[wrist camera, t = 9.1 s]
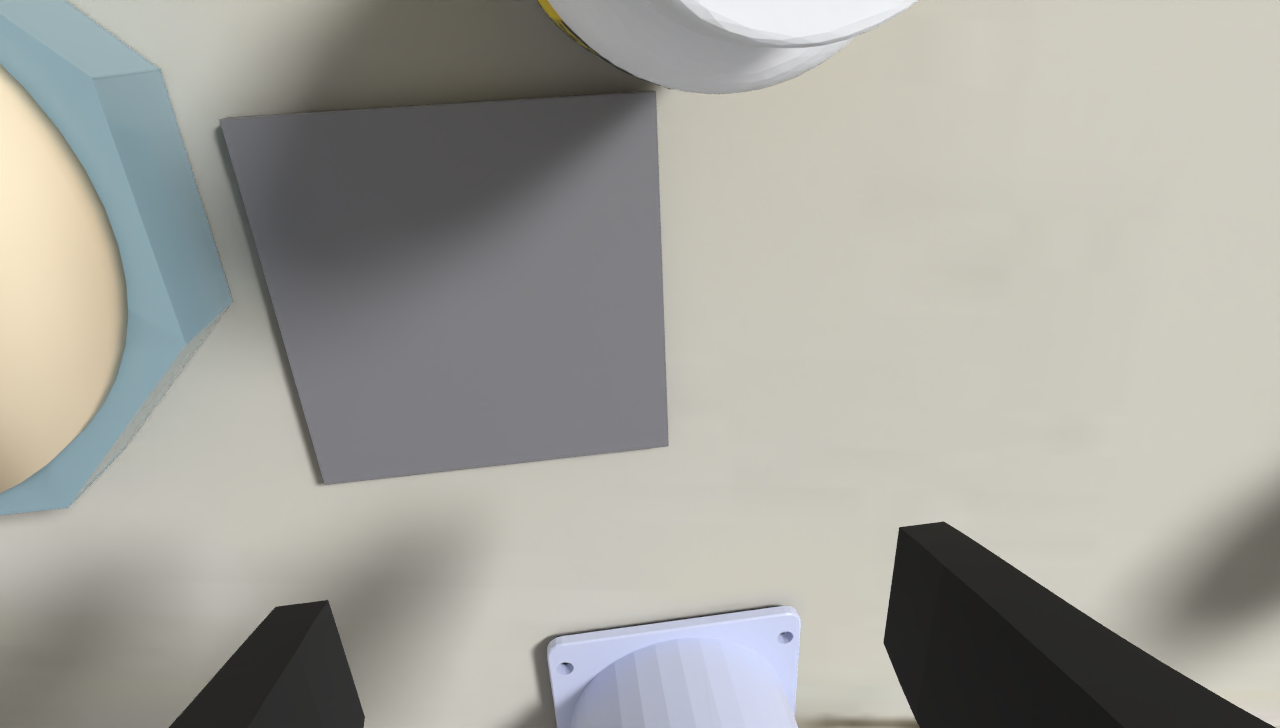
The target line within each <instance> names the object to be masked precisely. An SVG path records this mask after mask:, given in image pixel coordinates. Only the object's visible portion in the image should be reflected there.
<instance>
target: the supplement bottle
mask: <svg viewBox="0 0 1280 728" xmlns="http://www.w3.org/2000/svg"><path fill="white" fill-rule="evenodd" d="M537 1H538V3H539V4H540V6H541V7H542V8H543V10H544V11H545V12H546V13H547V15H548V16H549V17H550V19H551V20H552V21H553V22H554V23H555V24H556V25H557V26H558V27H559V28H560V29H561V30H562V31H564V32H565V33H566V34H567V35H568V36H569V37H570V38H572V39H573V40H574V41H576V42H577V43H579V44H580V45H581V46H583V47H584V48H586V49H587V50H588V51H590V52H593V53H594V54H596V55H598V56H600V57H601V58H602V59H604V60H605V61H607V62H609V63H610V64H612V65H613V66H615V67H616V68H618V69H620V70H622V71H624V72H626V73H628V74H630V75H633V76H636V77H638V78H640V79H642V80H646V81H649V82H652V83H654V84H656V85H659V86H663V87H665V88H668V89H677V90H681V91H685V92H695V93H704V94H729V93H740V92H746V91H752V90H757V89H762V88H766V87H769V86H773V85H776V84H779V83H782V82H784V81H787V80H790V79H792V78H795V77H797V76H799V75H801V74H803V73H805V72H807V71H809V70H811V69H812V68H814V67H816V66H818V65H819V64H821V63H823V62H824V61H826V60H827V59H829V58H830V57H832V56H833V55H834V54H836V53H837V52H838V51H840V50H841V49H842V48H844V47H845V46H846V45H848V44H849V43H850V42H851V41H852V40H853V39H854V38H855V37H857V36H858V35H860V34H862V33H865V32H867V31H870V30H872V29H874V28H876V27H878V26H880V25H882V24H884V23H886V22H887V21H889V20H891V19H893V18H894V17H896V16H898V15H899V14H901V13H903V12H904V11H905V10H907V9H908V8H909V7H911V6H912V5H913V4H915V3H916V2H917V1H919V0H537Z"/></svg>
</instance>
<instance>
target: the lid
mask: <svg viewBox="0 0 1280 728" xmlns="http://www.w3.org/2000/svg"><path fill="white" fill-rule="evenodd" d="M127 325H128V300H127V286H126V278H125V273H124V269H123V264H122V260H121V255H120V250H119V246H118V243H117V240H116V237H115V235H114V232H113V229H112V226H111V224H110V221H109V218H108V215H107V213H106V210H105V207H104V205H103V203H102V201H101V199H100V197H99V196H98V194H97V192H96V190H95V188H94V186H93V184H92V182H91V180H90V178H89V176H88V174H87V172H86V170H85V168H84V167H83V165H82V164H81V162H80V161H79V159H78V158H77V156H76V155H75V153H74V152H73V150H72V149H71V147H70V146H69V144H68V143H67V141H66V140H65V138H64V137H63V135H62V134H61V132H60V130H59V129H58V128H57V127H56V125H55V124H54V123H53V122H52V121H51V119H50V118H49V117H48V116H47V114H46V113H45V112H44V111H43V110H42V108H41V107H40V106H39V105H38V103H37V102H36V101H35V100H34V99H33V97H32V96H31V95H30V94H29V93H28V91H27V90H26V89H25V88H24V87H23V86H22V85H21V84H20V83H19V82H18V81H17V80H16V79H15V78H14V77H13V76H12V75H11V74H10V73H9V72H8V71H7V70H6V69H5V68H4V67H3V66H2V65H1V64H0V493H2V492H4V491H6V490H8V489H10V488H12V487H14V486H16V485H18V484H20V483H22V482H23V481H24V480H26V479H27V478H29V477H30V476H32V475H33V474H34V473H36V472H37V471H39V470H40V469H41V468H43V467H44V466H46V465H47V464H48V463H49V462H50V461H51V460H53V459H54V458H55V457H56V456H57V455H58V454H59V453H60V452H61V451H62V450H64V449H65V448H66V447H67V446H68V445H69V444H70V443H71V442H72V441H73V440H74V439H75V438H76V437H77V436H78V435H79V434H80V433H81V432H82V431H83V430H84V429H85V428H86V427H87V426H88V425H89V424H90V422H91V421H92V420H93V418H94V417H95V415H96V414H97V413H98V411H99V410H100V408H101V407H102V406H103V404H104V403H105V401H106V399H107V397H108V395H109V393H110V391H111V389H112V386H113V384H114V382H115V380H116V378H117V376H118V372H119V369H120V365H121V361H122V358H123V354H124V350H125V347H126V336H127Z"/></svg>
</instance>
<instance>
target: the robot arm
mask: <svg viewBox="0 0 1280 728" xmlns="http://www.w3.org/2000/svg"><path fill="white" fill-rule="evenodd" d="M800 628H801V621H800V617H799V615H798V613H797V611H796V610H795V609H794V608H793V607H790V606H779V607H772V608H765V609H757V610H750V611H743V612H735V613H728V614H721V615H713V616H706V617H699V618H691V619H684V620H677V621H669V622H662V623H655V624H647V625H640V626H633V627H625V628H618V629H611V630H603V631H596V632H589V633H581V634H574V635H567V636H561V637H557V638H555V639H553V640H552V641H550V643H549V644H548V646H547V661H548V668H549V674H550V681H551V688H552V695H553V702H554V709H555V716H556V723H557V728H798V725H797V723H796V720H795V702H796V687H797V673H798V658H799V643H800ZM785 631H787V632H786V633H784V634H781V633H783V632H785ZM884 645H885V648H886V650H887V653H888V655H889V657H890V660H891V662H892V665H893V667H894V670H895V672H896V675H897V677H898V680H899V682H900V685H901V687H902V689H903V692H904V694H905V696H906V698H907V701H908V703H909V705H910V708H911V710H912V712H913V714H914V717H915V719H916V721H917V723H918V725H919V726H920V728H1275V727H1273V726H1272V725H1270V724H1268V723H1266V722H1264V721H1263V720H1261V719H1259V718H1257V717H1255V716H1254V715H1252V714H1250V713H1248V712H1246V711H1245V710H1243V709H1241V708H1239V707H1237V706H1236V705H1234V704H1232V703H1230V702H1229V701H1227V700H1225V699H1223V698H1222V697H1220V696H1218V695H1217V694H1215V693H1213V692H1212V691H1210V690H1208V689H1207V688H1205V687H1203V686H1201V685H1200V684H1198V683H1196V682H1195V681H1193V680H1191V679H1190V678H1188V677H1186V676H1184V675H1183V674H1181V673H1179V672H1178V671H1176V670H1174V669H1173V668H1171V667H1169V666H1167V665H1166V664H1164V663H1162V662H1161V661H1159V660H1157V659H1156V658H1154V657H1153V656H1151V655H1149V654H1148V653H1146V652H1144V651H1143V650H1141V649H1140V648H1138V647H1136V646H1135V645H1133V644H1132V643H1130V642H1128V641H1127V640H1125V639H1123V638H1122V637H1120V636H1119V635H1117V634H1116V633H1114V632H1112V631H1111V630H1109V629H1108V628H1106V627H1105V626H1103V625H1101V624H1100V623H1098V622H1097V621H1095V620H1094V619H1092V618H1091V617H1089V616H1087V615H1086V614H1084V613H1083V612H1081V611H1080V610H1078V609H1077V608H1075V607H1074V606H1072V605H1070V604H1069V603H1067V602H1066V601H1064V600H1063V599H1061V598H1060V597H1058V596H1057V595H1055V594H1054V593H1052V592H1051V591H1049V590H1048V589H1046V588H1045V587H1043V586H1042V585H1040V584H1039V583H1037V582H1036V581H1034V580H1033V579H1031V578H1030V577H1028V576H1027V575H1025V574H1024V573H1022V572H1021V571H1019V570H1018V569H1016V568H1015V567H1013V566H1012V565H1010V564H1009V563H1007V562H1006V561H1004V560H1003V559H1001V558H1000V557H998V556H997V555H995V554H994V553H992V552H991V551H989V550H988V549H986V548H985V547H983V546H982V545H980V544H979V543H977V542H975V541H974V540H972V539H971V538H969V537H968V536H966V535H965V534H963V533H962V532H960V531H958V530H957V529H955V528H953V527H952V526H950V525H949V524H947V523H945V522H938V523H930V524H922V525H914V526H906V527H899V534H898V541H897V548H896V555H895V563H894V570H893V577H892V585H891V592H890V599H889V607H888V614H887V621H886V628H885V636H884ZM564 662H566V663H569V664H566V665H564V664H561V663H564ZM364 719H365V716H364V713H363V710H362V707H361V704H360V700H359V697H358V694H357V691H356V688H355V684H354V681H353V678H352V675H351V672H350V668H349V665H348V662H347V659H346V656H345V652H344V649H343V646H342V643H341V640H340V636H339V633H338V630H337V627H336V624H335V620H334V617H333V614H332V611H331V608H330V604H329V601H328V600H326V601H318V602H310V603H302V604H294V605H287V606H279V607H275V608H274V610H273V611H272V612H271V613H270V614H269V615H268V616H267V617H266V618H265V619H264V621H263V622H262V623H261V624H260V625H259V626H258V627H257V628H256V630H255V631H254V632H253V633H252V634H251V635H250V636H249V637H248V638H247V640H246V641H245V642H244V643H243V644H242V645H241V646H240V648H239V649H238V650H237V651H236V652H235V653H234V654H233V655H232V657H231V658H230V659H229V660H228V661H227V662H226V663H225V665H224V666H223V667H222V668H221V669H220V670H219V671H218V673H217V674H216V675H215V676H214V677H213V678H212V679H211V681H210V682H209V683H208V684H207V685H206V686H205V687H204V689H203V690H202V691H201V692H200V693H199V694H198V695H197V697H196V698H195V699H194V700H193V701H192V702H191V703H190V704H189V706H188V707H187V708H186V709H185V710H184V711H183V712H182V714H181V715H180V716H179V717H178V718H177V719H176V720H175V721H174V722H173V724H172V725H171V726H170V727H169V728H363V727H364Z"/></svg>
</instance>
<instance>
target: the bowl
mask: <svg viewBox="0 0 1280 728" xmlns="http://www.w3.org/2000/svg"><path fill="white" fill-rule="evenodd" d="M0 64H1V65H2V66H3V67H4V68H5V69H6V70H7V71H8V72H9V73H10V74H11V75H12V76H13V77H14V78H15V79H16V80H17V81H18V82H19V83H20V84H21V85H22V86H23V87H24V88H25V89H26V90H27V91H28V93H29V94H30V95H31V96H32V97H33V99H34V100H35V101H36V102H37V103H38V105H39V106H40V107H41V108H42V110H43V111H44V112H45V113H46V114H47V116H48V117H49V118H50V119H51V121H52V122H53V123H54V124H55V125H56V127H57V128H58V129H59V130H60V132H61V134H62V135H63V137H64V138H65V140H66V141H67V143H68V144H69V146H70V147H71V149H72V150H73V152H74V153H75V155H76V156H77V158H78V159H79V161H80V162H81V164H82V165H83V167H84V168H85V170H86V172H87V174H88V176H89V178H90V180H91V182H92V184H93V186H94V188H95V190H96V192H97V194H98V196H99V197H100V199H101V201H102V203H103V205H104V207H105V210H106V213H107V215H108V218H109V221H110V224H111V226H112V229H113V232H114V235H115V237H116V240H117V243H118V246H119V250H120V255H121V260H122V264H123V269H124V273H125V278H126V286H127V300H128V325H127V336H126V347H125V350H124V354H123V358H122V361H121V365H120V369H119V372H118V376H117V378H116V380H115V382H114V384H113V386H112V389H111V391H110V393H109V395H108V397H107V399H106V401H105V403H104V404H103V406H102V407H101V408H100V410H99V411H98V413H97V414H96V415H95V417H94V418H93V420H92V421H91V422H90V424H89V425H88V426H87V427H86V428H85V429H84V430H83V431H82V432H81V433H80V434H79V435H78V436H77V437H76V438H75V439H74V440H73V441H72V442H71V443H70V444H69V445H68V446H67V447H66V448H65V449H64V450H62V451H61V452H60V453H59V454H58V455H57V456H56V457H55V458H54V459H53V460H51V461H50V462H49V463H48V464H47V465H46V466H44V467H43V468H41V469H40V470H39V471H37V472H36V473H34V474H33V475H32V476H30V477H29V478H27V479H26V480H24V481H23V482H22V483H20V484H18V485H16V486H14V487H12V488H10V489H8V490H6V491H4V492H2V493H0V515H6V514H15V513H24V512H33V511H42V510H51V509H60V508H69V506H70V505H71V504H72V503H73V502H74V501H75V500H76V499H77V498H78V497H79V496H80V495H81V494H82V493H83V492H84V491H85V490H86V489H87V488H88V487H89V486H90V485H91V484H92V483H93V481H94V480H95V479H96V478H97V477H98V476H99V475H100V474H101V473H102V472H103V471H104V470H105V469H106V468H107V467H108V466H109V465H110V464H111V463H112V462H113V461H114V460H115V459H116V458H117V456H118V455H119V454H120V453H121V452H122V451H123V450H124V449H125V448H126V447H127V445H128V444H129V442H130V441H131V440H132V438H133V437H134V436H135V434H136V433H137V431H138V430H139V429H140V427H141V426H142V425H143V423H144V422H145V421H146V419H147V418H148V416H149V415H150V414H151V412H152V411H153V410H154V408H155V407H156V405H157V404H158V403H159V401H160V400H161V399H162V397H163V396H164V394H165V393H166V392H167V390H168V389H169V388H170V386H171V385H172V384H173V382H174V381H175V379H176V378H177V377H178V375H179V374H180V373H181V371H182V370H183V368H184V367H185V366H186V364H187V363H188V362H189V360H190V359H191V358H192V356H193V355H194V353H195V352H196V351H197V349H198V348H199V347H200V345H201V344H202V342H203V341H204V340H205V338H206V337H207V336H208V334H209V333H210V332H211V330H212V329H213V327H214V326H215V325H216V323H217V322H218V321H219V319H220V318H221V316H222V315H223V314H224V312H225V311H226V310H227V308H228V307H229V306H230V304H231V303H232V302H233V300H232V296H231V293H230V290H229V287H228V284H227V281H226V277H225V274H224V271H223V268H222V265H221V261H220V258H219V255H218V252H217V249H216V245H215V242H214V239H213V236H212V233H211V230H210V226H209V223H208V220H207V217H206V214H205V210H204V207H203V204H202V201H201V198H200V194H199V191H198V188H197V185H196V182H195V178H194V175H193V172H192V169H191V166H190V163H189V159H188V156H187V153H186V150H185V147H184V143H183V140H182V137H181V134H180V131H179V127H178V124H177V121H176V118H175V115H174V112H173V108H172V105H171V102H170V99H169V96H168V92H167V89H166V86H165V83H164V80H163V76H162V73H161V70H160V69H159V68H158V67H156V66H155V65H154V64H152V63H151V62H149V61H148V60H147V59H145V58H144V57H143V56H141V55H140V54H138V53H137V52H136V51H134V50H133V49H132V48H130V47H129V46H128V45H126V44H125V43H123V42H122V41H121V40H119V39H118V38H117V37H115V36H114V35H112V34H111V33H110V32H108V31H107V30H106V29H104V28H103V27H102V26H100V25H99V24H97V23H96V22H95V21H93V20H92V19H91V18H89V17H88V16H86V15H85V14H84V13H82V12H81V11H80V10H78V9H77V8H75V7H74V6H73V5H71V4H70V3H69V2H67V1H66V0H0Z"/></svg>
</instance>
